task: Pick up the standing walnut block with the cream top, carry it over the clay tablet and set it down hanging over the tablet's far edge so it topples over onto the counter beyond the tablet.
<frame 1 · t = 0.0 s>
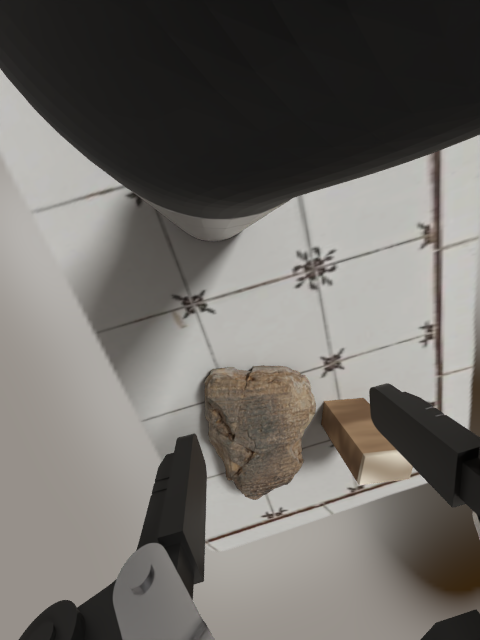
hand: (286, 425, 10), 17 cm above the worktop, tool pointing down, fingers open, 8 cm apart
walnut block: (342, 411, 32), on the worktop
clay tablet: (255, 424, 32), on the worktop
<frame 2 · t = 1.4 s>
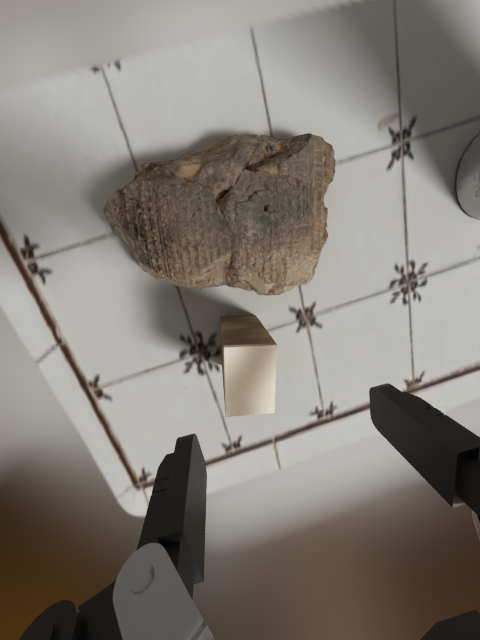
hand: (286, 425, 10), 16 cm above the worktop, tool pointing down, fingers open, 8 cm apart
walnut block: (238, 340, 26), on the worktop
clay tablet: (222, 223, 23), on the worktop
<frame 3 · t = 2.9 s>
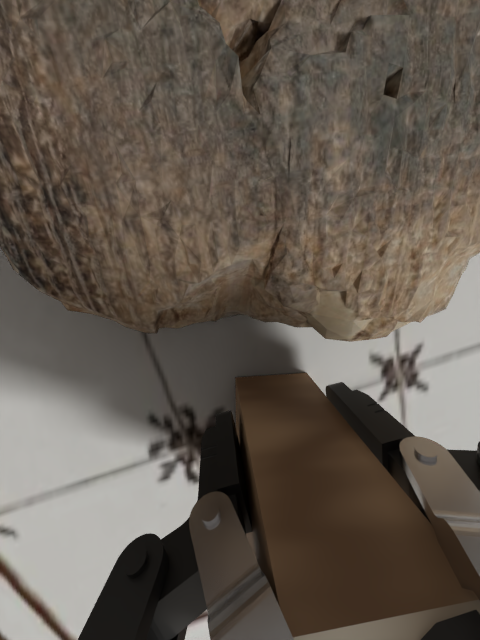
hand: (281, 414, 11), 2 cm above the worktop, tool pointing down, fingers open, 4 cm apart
walnut block: (269, 421, 13), on the worktop, touching gripper
clay tablet: (237, 174, 10), on the worktop
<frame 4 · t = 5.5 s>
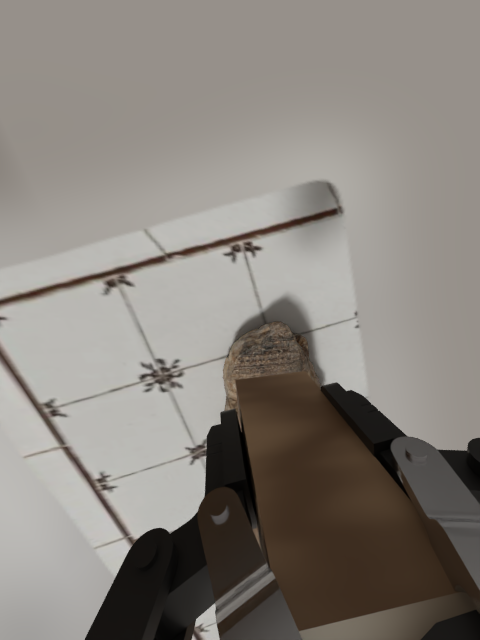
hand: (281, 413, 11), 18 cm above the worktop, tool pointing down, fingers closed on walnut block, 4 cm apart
walnut block: (272, 419, 13), point 16 cm above the worktop, touching gripper
clay tablet: (269, 384, 31), on the worktop
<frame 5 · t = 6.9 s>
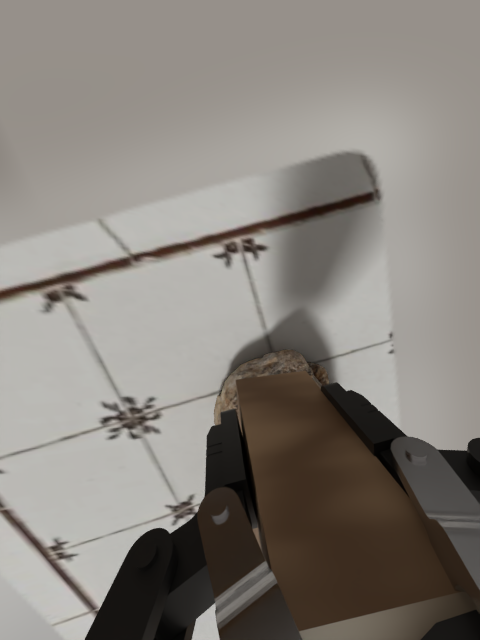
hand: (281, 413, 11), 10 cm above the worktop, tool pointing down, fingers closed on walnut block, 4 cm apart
walnut block: (272, 419, 13), point 8 cm above the worktop, touching gripper
clay tablet: (275, 424, 24), on the worktop
when the fingers open (8 cm above the worktop, at t = 7.8 s): walnut block drops 2 cm and tips over, resting on clay tablet.
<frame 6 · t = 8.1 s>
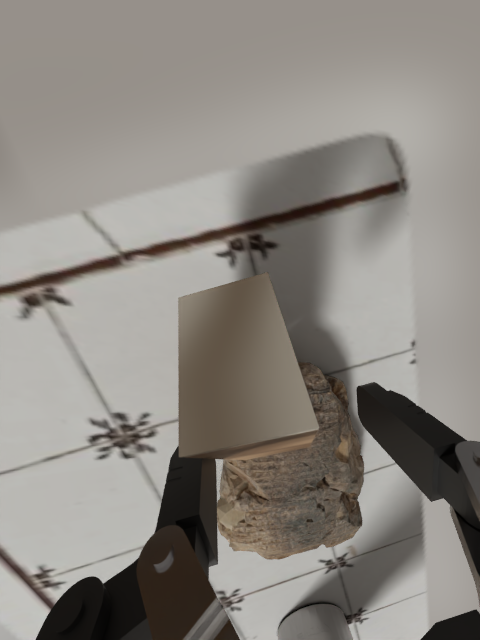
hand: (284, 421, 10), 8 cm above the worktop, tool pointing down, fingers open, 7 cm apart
walnut block: (265, 403, 15), point 4 cm above the worktop, tilted 52°, touching clay tablet
clay tablet: (285, 441, 22), on the worktop, touching walnut block
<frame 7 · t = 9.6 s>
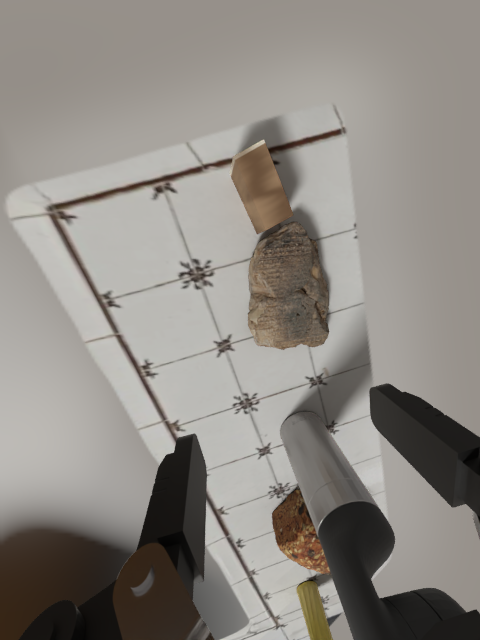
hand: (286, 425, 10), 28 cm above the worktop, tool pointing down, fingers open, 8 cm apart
bread: (309, 510, 55), on the worktop
walnut block: (273, 225, 31), point 3 cm above the worktop, tilted 90°
vase: (306, 586, 64), on the worktop
clay tablet: (285, 288, 38), on the worktop
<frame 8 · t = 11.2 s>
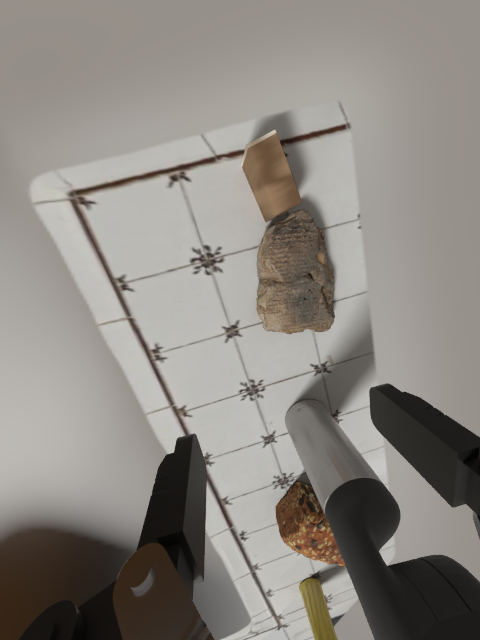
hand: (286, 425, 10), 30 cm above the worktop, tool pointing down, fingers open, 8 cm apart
bread: (313, 502, 55), on the worktop
walnut block: (282, 213, 33), point 3 cm above the worktop, tilted 90°
vase: (309, 583, 63), on the worktop
clay tablet: (291, 275, 39), on the worktop
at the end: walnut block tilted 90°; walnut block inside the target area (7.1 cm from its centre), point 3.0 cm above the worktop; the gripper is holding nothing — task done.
